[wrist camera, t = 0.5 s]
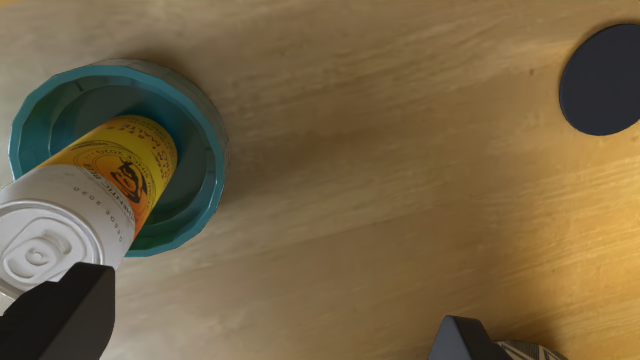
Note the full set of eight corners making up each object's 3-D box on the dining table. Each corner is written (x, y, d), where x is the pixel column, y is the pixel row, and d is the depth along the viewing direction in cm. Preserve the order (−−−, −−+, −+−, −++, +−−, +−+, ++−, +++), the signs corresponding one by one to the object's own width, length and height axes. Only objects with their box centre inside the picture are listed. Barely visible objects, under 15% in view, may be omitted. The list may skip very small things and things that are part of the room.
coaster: (575, 21, 32) (578, 21, 32) (678, 26, 34) (683, 26, 33) (547, 134, 36) (550, 135, 35) (642, 135, 37) (646, 136, 36)
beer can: (196, 159, 33) (142, 265, 19) (136, 202, 33) (42, 335, 20) (140, 95, 30) (32, 163, 17) (77, 143, 31) (-76, 246, 17)
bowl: (25, 55, 29) (-15, 62, 25) (225, 61, 31) (219, 68, 26) (62, 229, 34) (33, 260, 30) (232, 226, 36) (228, 254, 31)
